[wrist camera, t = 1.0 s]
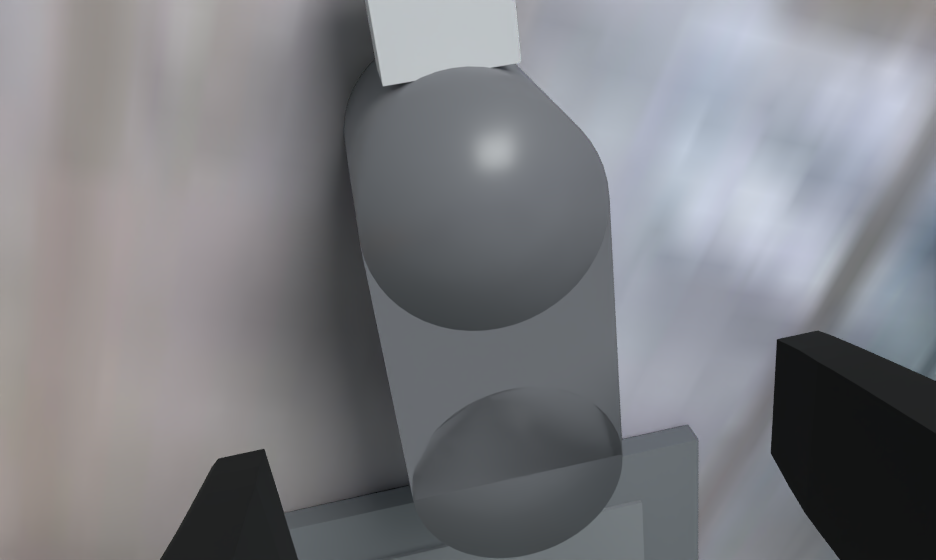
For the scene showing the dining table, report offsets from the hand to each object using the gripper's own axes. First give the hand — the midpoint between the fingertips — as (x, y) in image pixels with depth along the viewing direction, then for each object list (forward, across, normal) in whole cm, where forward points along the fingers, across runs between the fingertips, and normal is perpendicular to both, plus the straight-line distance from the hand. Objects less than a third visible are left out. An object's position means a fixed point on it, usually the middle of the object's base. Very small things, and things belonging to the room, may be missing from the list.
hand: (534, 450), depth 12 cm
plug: (+7, 0, -1) cm, 7 cm away
